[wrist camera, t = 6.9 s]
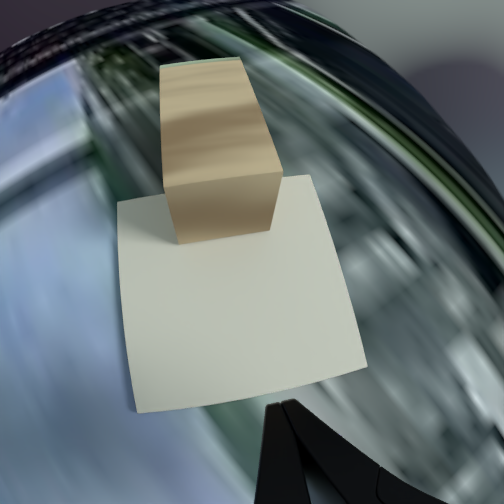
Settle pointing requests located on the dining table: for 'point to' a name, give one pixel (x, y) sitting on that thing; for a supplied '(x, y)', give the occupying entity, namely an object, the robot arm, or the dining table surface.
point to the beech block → (215, 151)
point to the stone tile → (233, 305)
